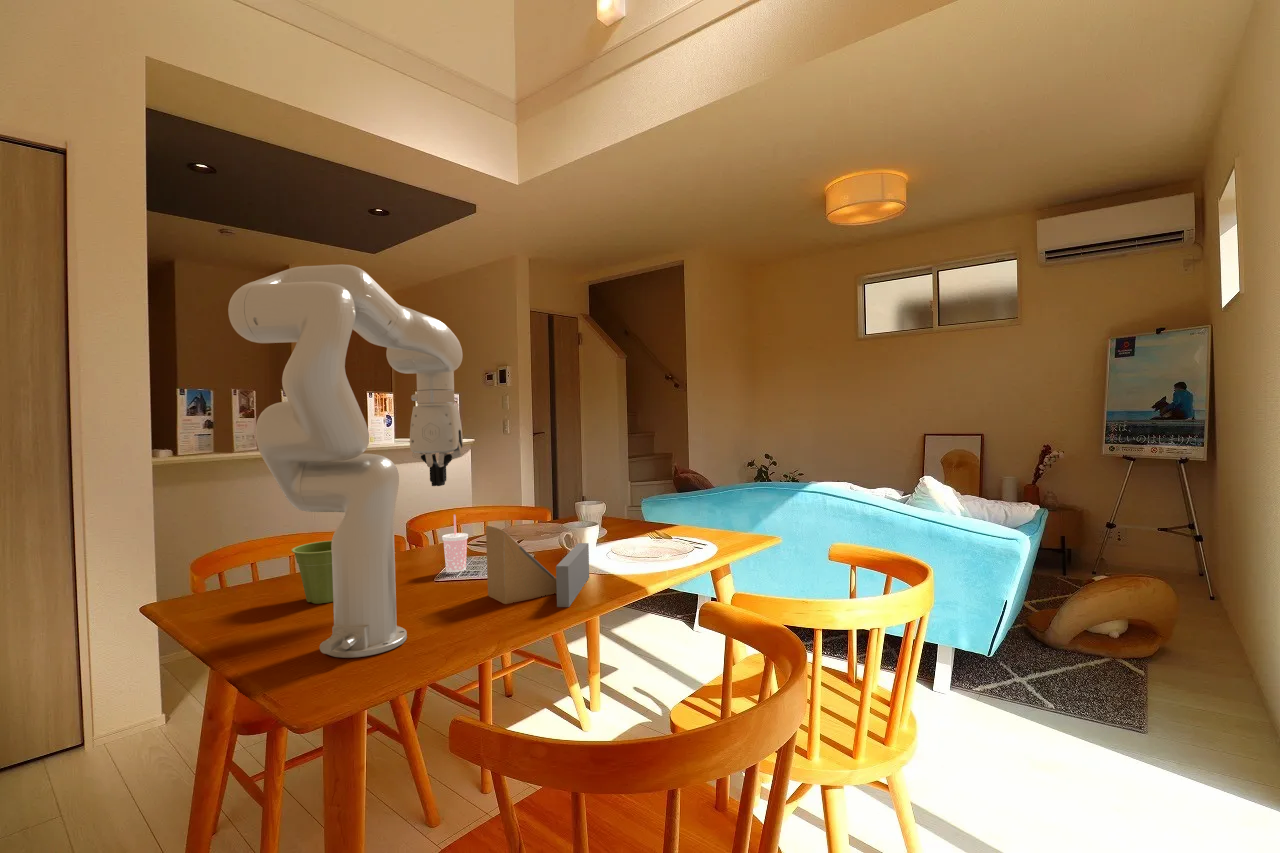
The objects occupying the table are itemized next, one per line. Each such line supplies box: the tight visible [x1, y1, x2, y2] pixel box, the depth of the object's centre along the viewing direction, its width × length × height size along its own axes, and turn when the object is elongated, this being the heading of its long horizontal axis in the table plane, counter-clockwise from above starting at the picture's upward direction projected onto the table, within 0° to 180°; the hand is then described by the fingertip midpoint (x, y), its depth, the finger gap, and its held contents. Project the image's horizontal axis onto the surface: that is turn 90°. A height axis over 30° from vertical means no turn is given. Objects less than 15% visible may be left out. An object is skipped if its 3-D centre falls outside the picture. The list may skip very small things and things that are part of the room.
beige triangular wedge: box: [485, 525, 557, 605], centre depth 132 cm, size 9×15×15 cm, turn 128°
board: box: [555, 542, 590, 608], centre depth 133 cm, size 22×2×8 cm, turn 174°
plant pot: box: [291, 540, 333, 605], centre depth 131 cm, size 12×12×11 cm
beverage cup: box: [441, 514, 469, 572], centre depth 152 cm, size 6×6×14 cm
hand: (438, 485), depth 133 cm, fingers closed
